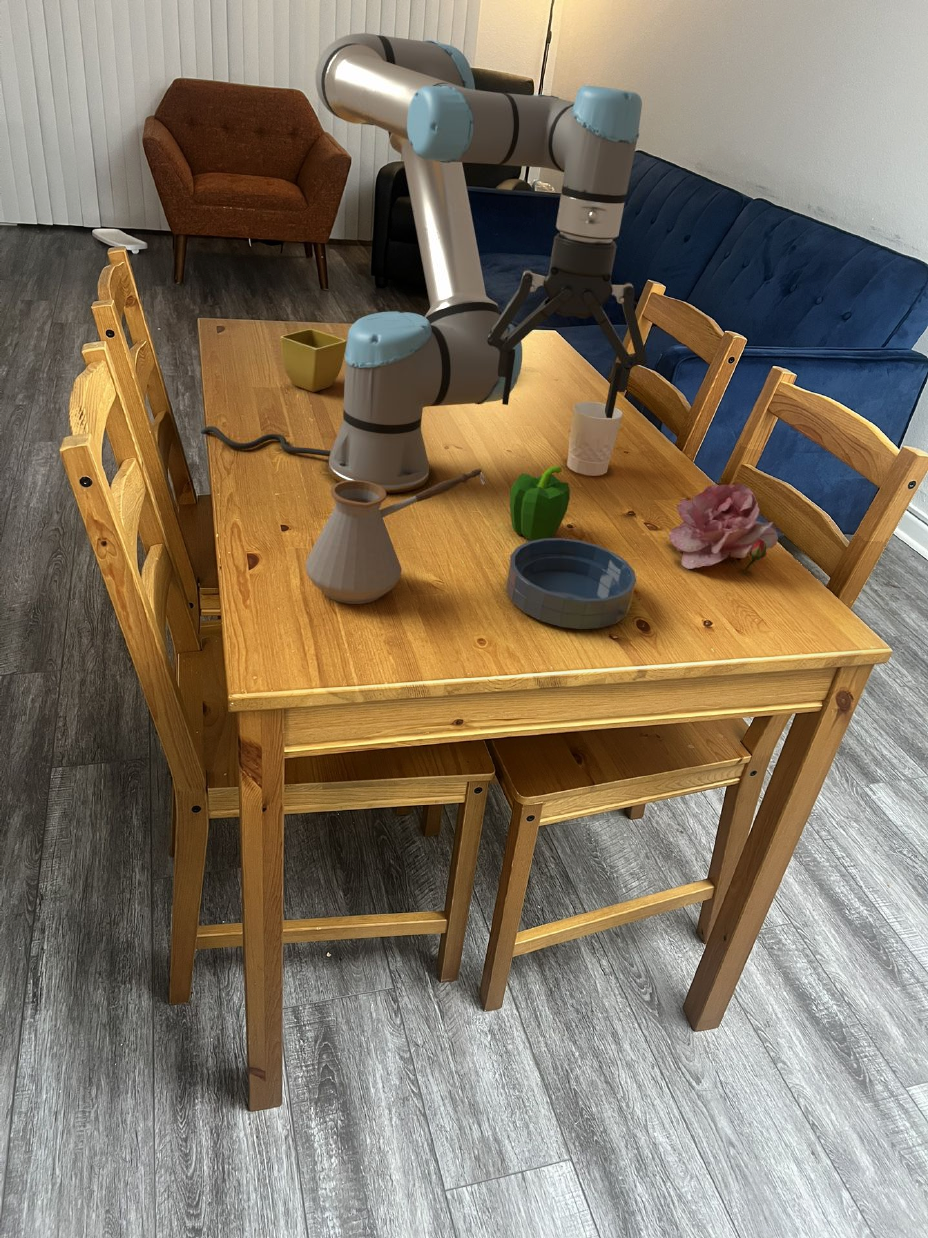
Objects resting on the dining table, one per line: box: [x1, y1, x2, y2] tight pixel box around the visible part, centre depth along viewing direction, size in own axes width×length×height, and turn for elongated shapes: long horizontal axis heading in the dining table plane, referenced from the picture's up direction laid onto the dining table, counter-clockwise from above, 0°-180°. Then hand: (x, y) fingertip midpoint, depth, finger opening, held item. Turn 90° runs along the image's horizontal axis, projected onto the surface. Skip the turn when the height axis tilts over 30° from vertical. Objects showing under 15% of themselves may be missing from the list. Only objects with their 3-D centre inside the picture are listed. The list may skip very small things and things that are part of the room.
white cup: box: [566, 401, 624, 477], centre depth 153 cm, size 8×8×10 cm
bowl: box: [505, 537, 637, 630], centre depth 117 cm, size 16×16×4 cm
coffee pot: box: [305, 468, 487, 605], centre depth 112 cm, size 21×12×15 cm, turn 110°
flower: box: [668, 483, 779, 573], centre depth 130 cm, size 15×15×10 cm
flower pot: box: [279, 328, 347, 393], centre depth 171 cm, size 9×9×9 cm
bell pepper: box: [509, 465, 571, 541], centre depth 130 cm, size 8×8×10 cm
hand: (556, 408), depth 123 cm, fingers open, 13 cm apart
